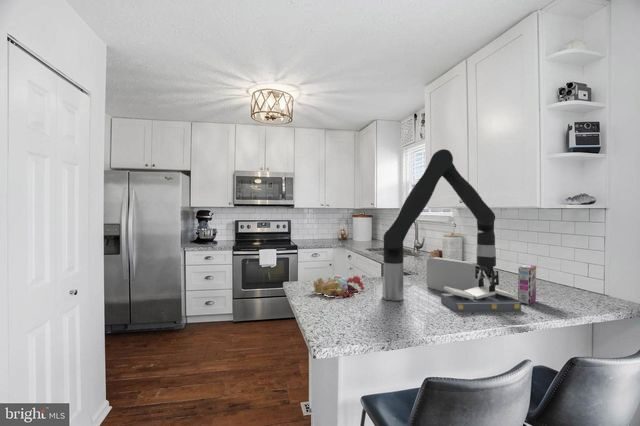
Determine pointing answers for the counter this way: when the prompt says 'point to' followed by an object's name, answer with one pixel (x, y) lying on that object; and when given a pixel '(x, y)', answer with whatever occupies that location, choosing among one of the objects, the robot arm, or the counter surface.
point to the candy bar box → (527, 284)
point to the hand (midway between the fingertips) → (486, 291)
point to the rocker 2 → (479, 292)
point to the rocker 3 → (504, 293)
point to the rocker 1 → (458, 292)
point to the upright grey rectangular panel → (450, 274)
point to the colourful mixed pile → (338, 286)
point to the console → (481, 303)
